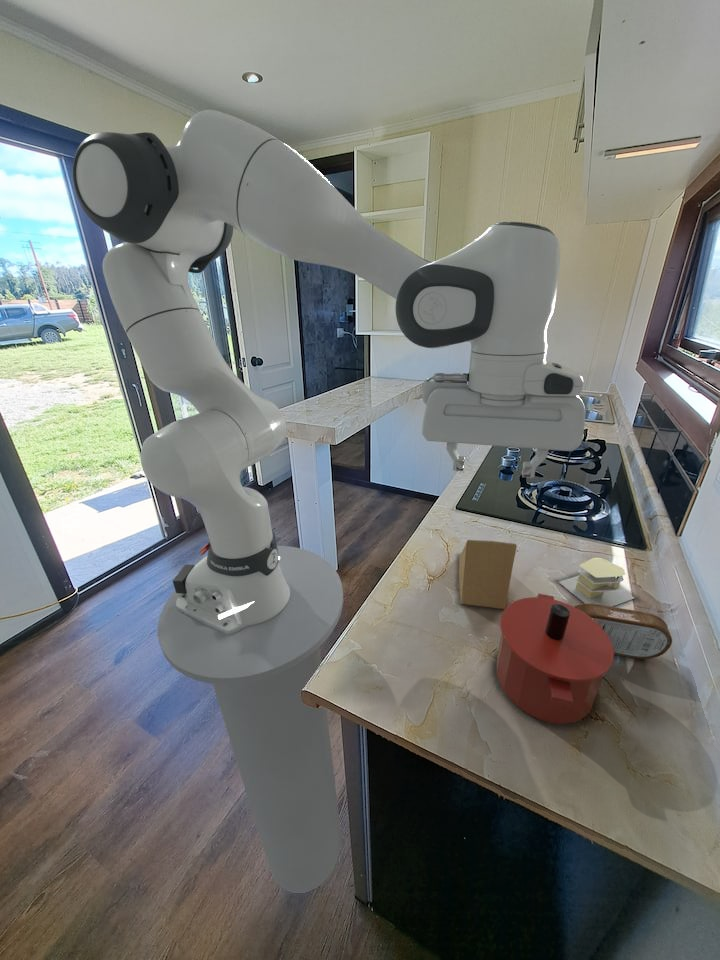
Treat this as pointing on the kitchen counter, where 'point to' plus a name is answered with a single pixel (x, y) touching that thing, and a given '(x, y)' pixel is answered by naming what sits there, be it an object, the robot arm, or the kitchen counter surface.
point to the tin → (631, 630)
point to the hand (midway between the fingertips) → (492, 472)
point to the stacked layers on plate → (598, 583)
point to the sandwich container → (486, 572)
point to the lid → (557, 639)
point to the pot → (543, 689)
